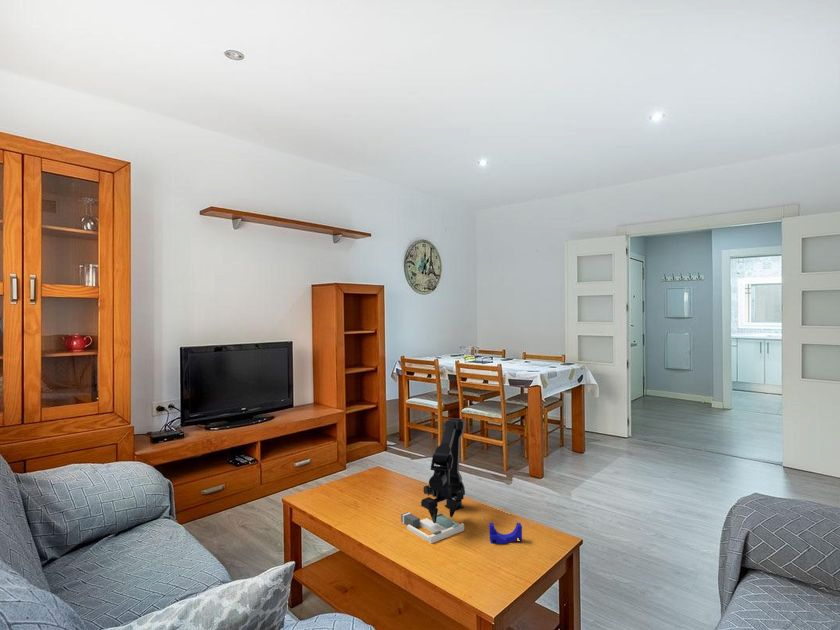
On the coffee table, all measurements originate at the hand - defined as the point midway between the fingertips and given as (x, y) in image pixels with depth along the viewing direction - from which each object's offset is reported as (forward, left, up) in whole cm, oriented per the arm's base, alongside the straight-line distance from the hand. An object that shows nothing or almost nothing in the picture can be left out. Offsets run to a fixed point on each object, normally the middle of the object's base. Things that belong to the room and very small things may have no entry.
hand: (442, 519), depth 194 cm
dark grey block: (+10, -9, -3) cm, 14 cm away
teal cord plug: (0, 0, -3) cm, 3 cm away
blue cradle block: (-10, +25, -3) cm, 27 cm away
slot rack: (+5, 0, -2) cm, 5 cm away
